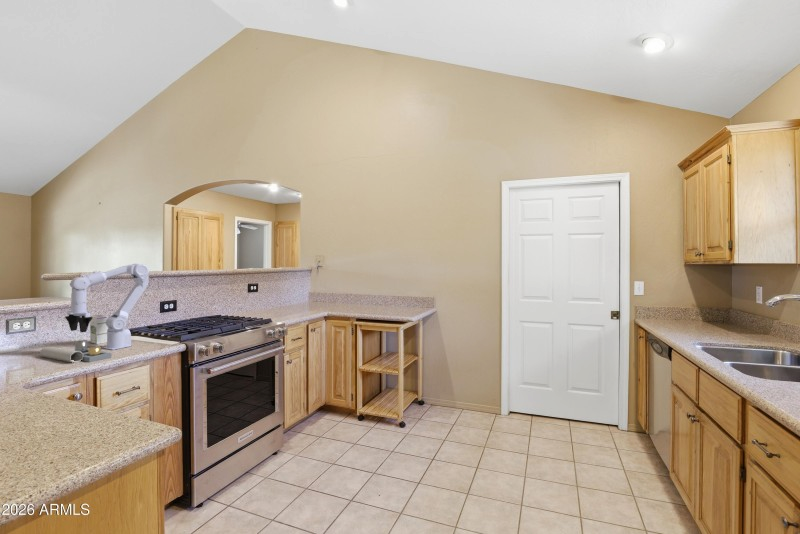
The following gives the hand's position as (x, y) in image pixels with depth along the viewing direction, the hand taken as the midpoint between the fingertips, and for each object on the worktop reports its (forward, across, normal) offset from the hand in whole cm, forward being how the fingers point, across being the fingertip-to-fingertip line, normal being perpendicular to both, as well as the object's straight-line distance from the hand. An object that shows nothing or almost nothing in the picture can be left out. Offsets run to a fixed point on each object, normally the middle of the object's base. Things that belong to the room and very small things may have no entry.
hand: (78, 331), depth 186 cm
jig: (+10, +12, -2) cm, 16 cm away
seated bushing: (+10, +17, -2) cm, 20 cm away
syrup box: (+10, -15, +18) cm, 25 cm away
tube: (+11, +5, -10) cm, 15 cm away
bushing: (+10, +7, -2) cm, 13 cm away
